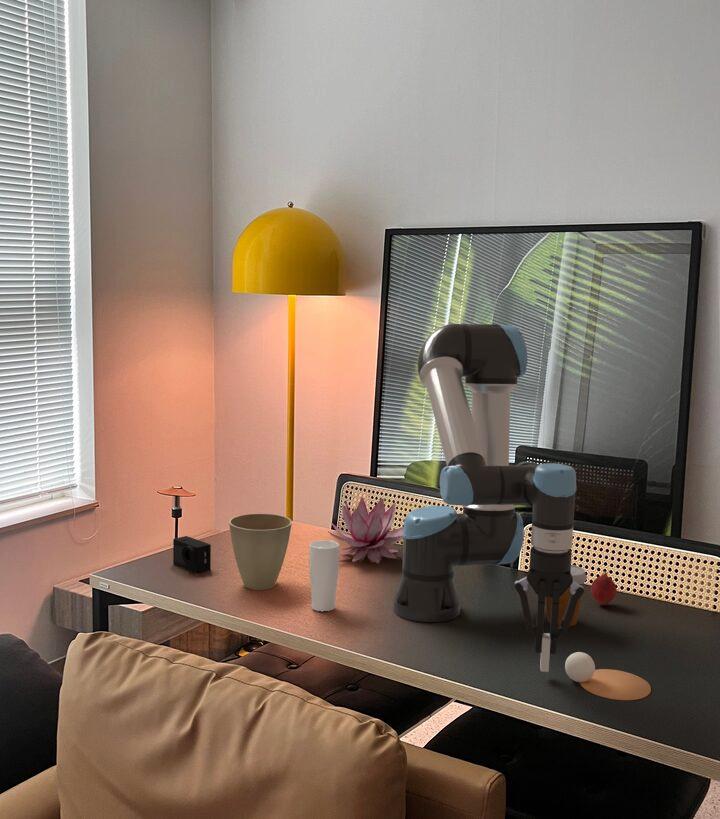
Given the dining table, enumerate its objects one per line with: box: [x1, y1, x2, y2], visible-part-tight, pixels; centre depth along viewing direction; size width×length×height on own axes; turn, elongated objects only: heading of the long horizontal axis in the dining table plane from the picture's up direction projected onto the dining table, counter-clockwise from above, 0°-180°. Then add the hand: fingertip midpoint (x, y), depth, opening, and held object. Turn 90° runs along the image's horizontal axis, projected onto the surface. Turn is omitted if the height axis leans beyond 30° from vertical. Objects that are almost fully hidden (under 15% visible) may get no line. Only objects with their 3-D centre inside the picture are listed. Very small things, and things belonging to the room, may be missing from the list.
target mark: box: [578, 668, 652, 701], centre depth 173 cm, size 13×13×1 cm
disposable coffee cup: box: [545, 564, 588, 627], centre depth 204 cm, size 10×10×12 cm
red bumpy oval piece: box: [590, 571, 618, 606], centre depth 216 cm, size 6×6×8 cm
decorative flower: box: [327, 496, 404, 564], centre depth 247 cm, size 21×21×15 cm
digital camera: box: [172, 535, 212, 575], centre depth 235 cm, size 10×5×7 cm, turn 46°
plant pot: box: [228, 512, 293, 591], centre depth 223 cm, size 15×15×16 cm
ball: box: [564, 651, 596, 683], centre depth 174 cm, size 6×6×6 cm
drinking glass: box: [308, 539, 340, 613], centre depth 208 cm, size 7×7×15 cm
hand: (544, 668), depth 175 cm, fingers closed
